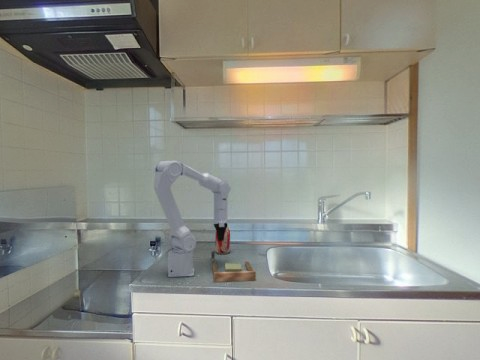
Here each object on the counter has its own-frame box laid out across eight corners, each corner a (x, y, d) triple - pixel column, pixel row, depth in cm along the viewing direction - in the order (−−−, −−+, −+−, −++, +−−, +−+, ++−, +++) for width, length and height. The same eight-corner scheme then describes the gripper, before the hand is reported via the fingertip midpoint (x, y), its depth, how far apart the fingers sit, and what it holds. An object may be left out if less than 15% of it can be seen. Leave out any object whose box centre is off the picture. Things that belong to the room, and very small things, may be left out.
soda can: (217, 255, 145) (216, 229, 145) (214, 251, 152) (214, 226, 152) (231, 254, 147) (231, 228, 147) (228, 250, 154) (228, 226, 153)
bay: (214, 282, 112) (214, 273, 112) (212, 266, 129) (212, 259, 129) (255, 280, 114) (255, 272, 113) (248, 265, 131) (248, 258, 131)
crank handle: (215, 263, 133) (215, 256, 133) (211, 263, 133) (211, 256, 133) (214, 257, 141) (214, 251, 141) (211, 257, 141) (211, 251, 141)
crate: (224, 280, 114) (224, 269, 114) (224, 273, 121) (224, 263, 121) (241, 280, 114) (241, 269, 114) (240, 273, 122) (240, 262, 121)
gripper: (231, 211, 125) (231, 244, 125) (228, 206, 139) (228, 236, 140) (214, 211, 124) (214, 245, 124) (212, 206, 138) (212, 237, 139)
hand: (220, 240), depth 132 cm, fingers closed
